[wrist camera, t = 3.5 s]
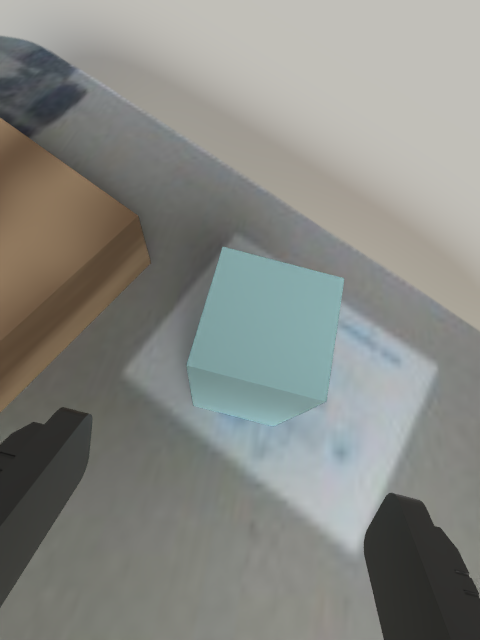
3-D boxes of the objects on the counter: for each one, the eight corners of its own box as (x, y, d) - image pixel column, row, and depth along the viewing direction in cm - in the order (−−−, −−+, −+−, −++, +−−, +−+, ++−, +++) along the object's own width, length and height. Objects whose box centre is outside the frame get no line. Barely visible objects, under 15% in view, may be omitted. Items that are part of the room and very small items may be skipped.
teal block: (288, 349, 21) (344, 278, 13) (273, 426, 20) (326, 401, 11) (214, 330, 21) (222, 246, 13) (193, 405, 19) (186, 365, 11)
